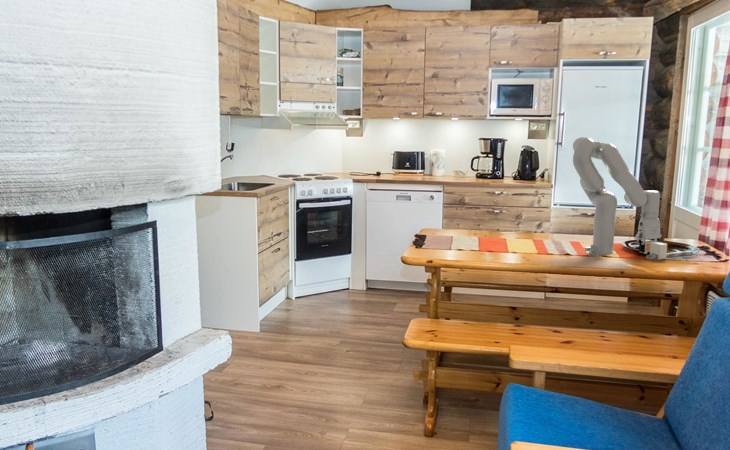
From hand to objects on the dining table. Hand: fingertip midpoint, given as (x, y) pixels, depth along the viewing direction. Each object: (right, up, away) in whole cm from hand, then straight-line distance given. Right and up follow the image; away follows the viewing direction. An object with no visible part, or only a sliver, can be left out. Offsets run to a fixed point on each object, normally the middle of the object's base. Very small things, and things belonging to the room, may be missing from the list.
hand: (647, 251), depth 283 cm
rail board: (+6, -3, -9) cm, 12 cm away
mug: (+12, +1, +19) cm, 23 cm away
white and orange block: (0, -2, 0) cm, 2 cm away
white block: (-1, -3, -11) cm, 12 cm away
